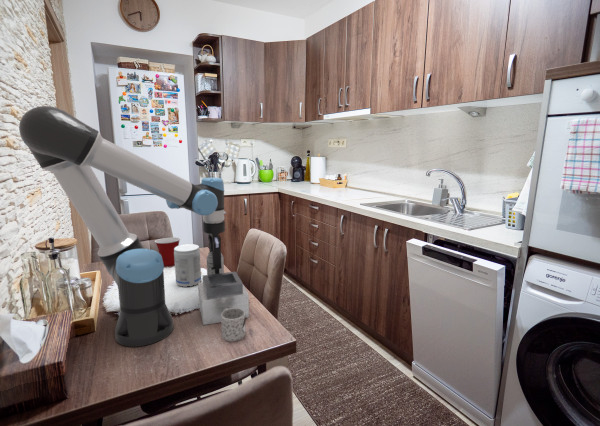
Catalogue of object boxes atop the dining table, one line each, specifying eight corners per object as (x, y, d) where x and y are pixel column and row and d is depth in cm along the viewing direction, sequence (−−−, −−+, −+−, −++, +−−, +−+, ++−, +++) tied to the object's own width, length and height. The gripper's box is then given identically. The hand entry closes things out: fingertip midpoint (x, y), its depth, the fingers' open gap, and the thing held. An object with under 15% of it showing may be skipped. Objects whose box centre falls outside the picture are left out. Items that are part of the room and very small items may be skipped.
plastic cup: (176, 258, 158) (174, 234, 155) (185, 264, 150) (184, 239, 148) (152, 263, 150) (150, 238, 148) (161, 270, 143) (159, 243, 140)
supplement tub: (195, 276, 137) (194, 242, 134) (205, 283, 129) (203, 247, 127) (172, 281, 131) (170, 246, 128) (180, 289, 123) (178, 252, 121)
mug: (248, 337, 93) (248, 315, 92) (226, 344, 90) (225, 321, 88) (235, 321, 102) (235, 301, 100) (214, 327, 98) (214, 306, 97)
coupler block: (203, 325, 99) (201, 291, 97) (198, 304, 112) (197, 274, 110) (248, 317, 104) (248, 284, 102) (239, 298, 117) (239, 269, 115)
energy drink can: (226, 292, 121) (225, 254, 119) (210, 296, 118) (208, 256, 116) (221, 287, 126) (220, 249, 124) (205, 290, 123) (204, 252, 121)
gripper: (229, 226, 110) (230, 290, 114) (220, 215, 127) (222, 271, 132) (206, 227, 107) (208, 293, 112) (200, 216, 125) (202, 274, 129)
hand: (215, 281), depth 122 cm, fingers closed on energy drink can, 6 cm apart
